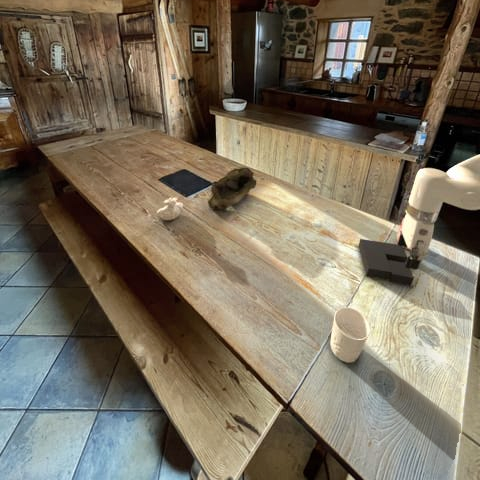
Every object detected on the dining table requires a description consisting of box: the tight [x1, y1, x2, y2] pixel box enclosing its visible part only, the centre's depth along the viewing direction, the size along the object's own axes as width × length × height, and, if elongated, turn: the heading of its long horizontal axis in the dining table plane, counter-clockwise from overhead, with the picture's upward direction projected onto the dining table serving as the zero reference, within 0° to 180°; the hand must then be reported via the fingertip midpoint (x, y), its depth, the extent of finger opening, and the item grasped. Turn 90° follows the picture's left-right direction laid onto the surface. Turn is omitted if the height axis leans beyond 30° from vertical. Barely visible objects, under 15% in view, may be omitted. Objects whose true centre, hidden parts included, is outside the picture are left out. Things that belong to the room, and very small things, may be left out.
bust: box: [155, 196, 184, 221], centre depth 110 cm, size 12×8×11 cm
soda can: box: [395, 217, 417, 250], centre depth 98 cm, size 7×7×12 cm
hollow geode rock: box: [207, 167, 258, 211], centre depth 124 cm, size 28×13×15 cm
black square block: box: [388, 260, 415, 287], centre depth 86 cm, size 6×6×4 cm
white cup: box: [329, 306, 371, 364], centre depth 64 cm, size 8×8×10 cm
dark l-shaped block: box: [358, 238, 408, 281], centre depth 91 cm, size 14×14×4 cm
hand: (406, 256), depth 83 cm, fingers open, 9 cm apart
